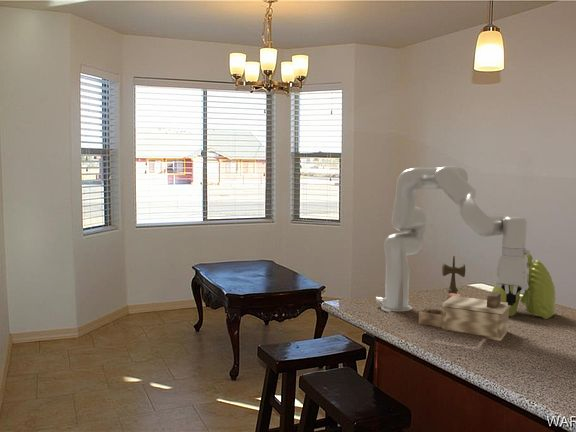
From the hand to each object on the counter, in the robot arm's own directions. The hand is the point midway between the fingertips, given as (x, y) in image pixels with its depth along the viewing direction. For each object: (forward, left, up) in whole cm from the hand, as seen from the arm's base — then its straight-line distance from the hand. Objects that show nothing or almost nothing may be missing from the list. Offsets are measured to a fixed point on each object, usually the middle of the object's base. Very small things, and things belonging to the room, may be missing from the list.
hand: (510, 304), depth 200 cm
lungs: (-2, +37, -12) cm, 39 cm away
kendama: (-32, +43, -12) cm, 55 cm away
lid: (-12, 0, -2) cm, 12 cm away
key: (-22, +11, -12) cm, 27 cm away
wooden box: (-16, 0, -12) cm, 20 cm away
